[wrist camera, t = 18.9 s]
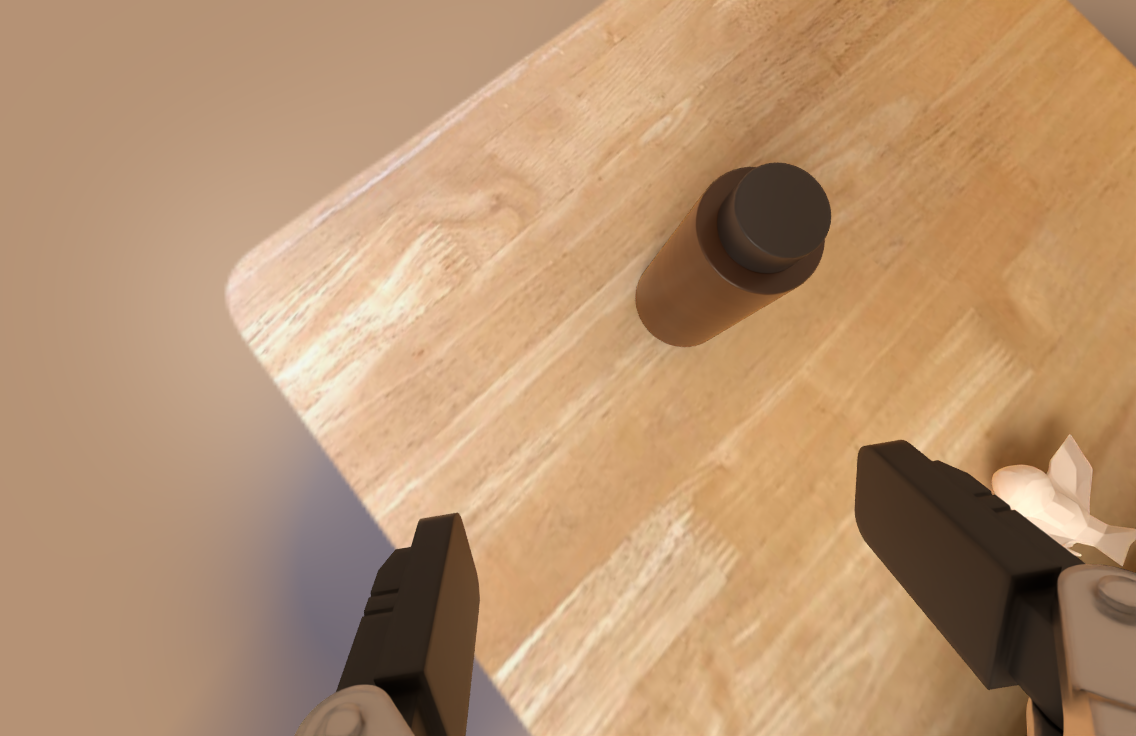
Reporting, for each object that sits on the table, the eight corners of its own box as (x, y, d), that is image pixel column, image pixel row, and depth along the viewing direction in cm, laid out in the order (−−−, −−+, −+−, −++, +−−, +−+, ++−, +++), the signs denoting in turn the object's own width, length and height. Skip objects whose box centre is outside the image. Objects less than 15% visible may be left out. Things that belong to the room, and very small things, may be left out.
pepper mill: (643, 351, 27) (727, 286, 17) (628, 259, 27) (701, 145, 17) (734, 342, 27) (866, 272, 17) (717, 252, 28) (836, 137, 18)
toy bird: (1024, 404, 28) (1151, 421, 23) (1057, 465, 29) (1182, 492, 25) (936, 527, 26) (1056, 570, 22) (976, 585, 28) (1095, 636, 23)
